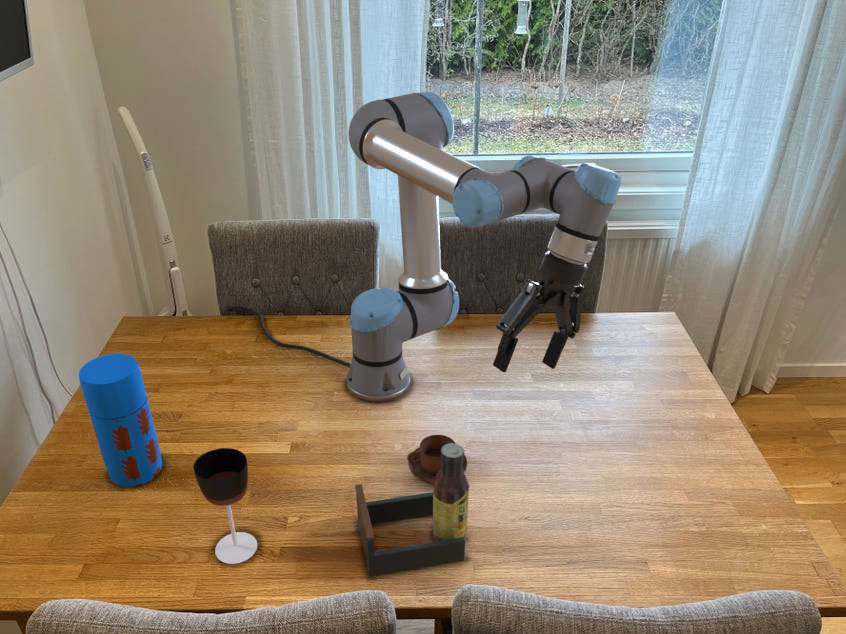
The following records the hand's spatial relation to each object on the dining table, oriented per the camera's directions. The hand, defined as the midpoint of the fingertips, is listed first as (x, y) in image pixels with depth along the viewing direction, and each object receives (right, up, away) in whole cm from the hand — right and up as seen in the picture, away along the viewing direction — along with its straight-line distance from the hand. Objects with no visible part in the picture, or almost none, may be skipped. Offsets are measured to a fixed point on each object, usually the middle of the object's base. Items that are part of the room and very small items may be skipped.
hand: (524, 367), depth 130 cm
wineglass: (-52, -33, 0) cm, 62 cm away
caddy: (-21, -32, +1) cm, 38 cm away
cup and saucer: (-15, -21, +17) cm, 31 cm away
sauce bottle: (-13, -31, +2) cm, 34 cm away
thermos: (-77, -21, +18) cm, 82 cm away
